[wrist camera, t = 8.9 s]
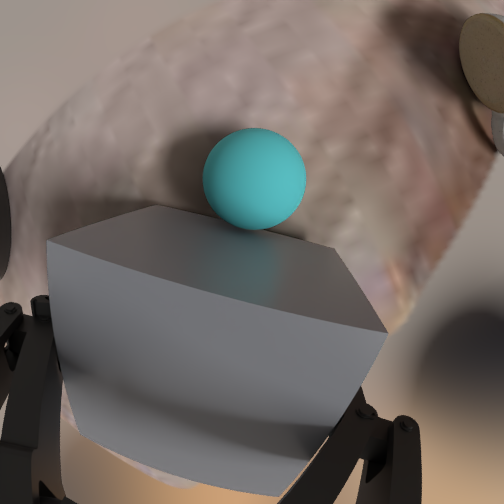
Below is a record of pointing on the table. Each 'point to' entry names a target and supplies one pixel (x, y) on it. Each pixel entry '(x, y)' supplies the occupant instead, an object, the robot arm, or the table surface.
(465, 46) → the ceramic mug
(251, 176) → the ball
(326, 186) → the table surface
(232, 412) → the grey cube
